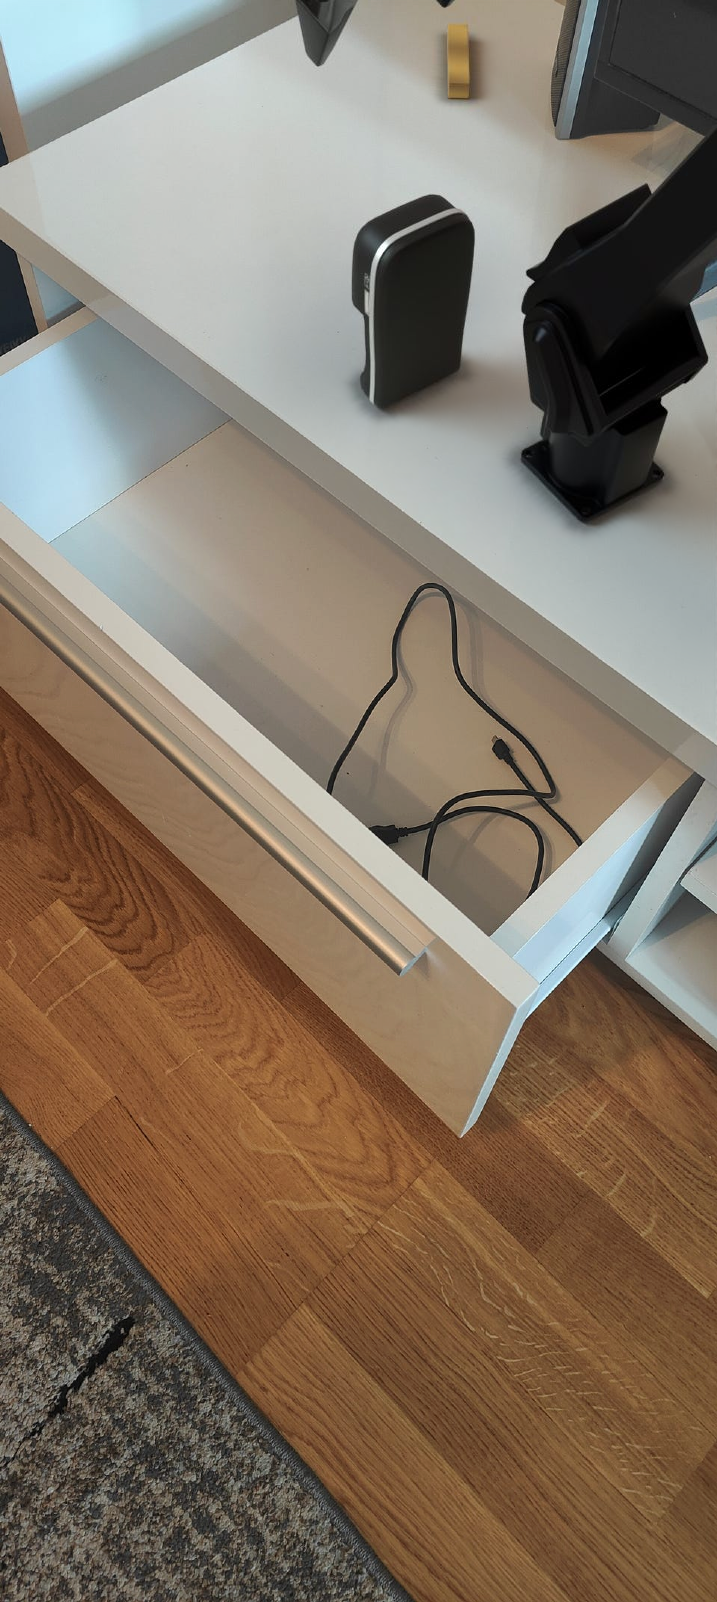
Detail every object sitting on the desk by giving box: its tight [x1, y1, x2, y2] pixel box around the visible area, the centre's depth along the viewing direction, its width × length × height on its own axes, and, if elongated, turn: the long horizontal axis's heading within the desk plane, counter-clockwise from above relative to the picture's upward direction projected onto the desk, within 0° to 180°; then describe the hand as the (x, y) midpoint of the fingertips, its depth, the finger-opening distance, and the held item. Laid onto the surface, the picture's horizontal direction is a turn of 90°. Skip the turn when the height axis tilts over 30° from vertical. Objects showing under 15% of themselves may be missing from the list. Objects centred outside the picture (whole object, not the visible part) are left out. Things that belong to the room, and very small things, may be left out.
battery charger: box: [351, 193, 476, 410], centre depth 68 cm, size 7×4×11 cm, turn 125°
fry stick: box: [446, 23, 471, 99], centre depth 89 cm, size 8×2×1 cm, turn 178°
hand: (378, 29), depth 61 cm, fingers open, 9 cm apart
